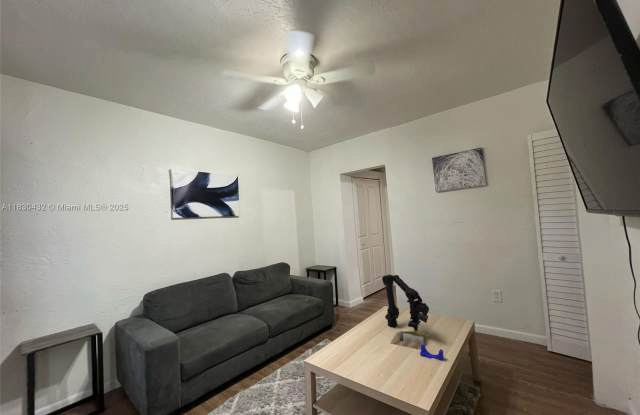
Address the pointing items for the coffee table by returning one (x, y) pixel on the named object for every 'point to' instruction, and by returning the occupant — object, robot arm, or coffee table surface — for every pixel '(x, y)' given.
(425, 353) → the cable clip
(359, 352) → the coffee table surface
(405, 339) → the steel leaf
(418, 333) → the block
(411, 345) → the hinge board
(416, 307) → the robot arm
